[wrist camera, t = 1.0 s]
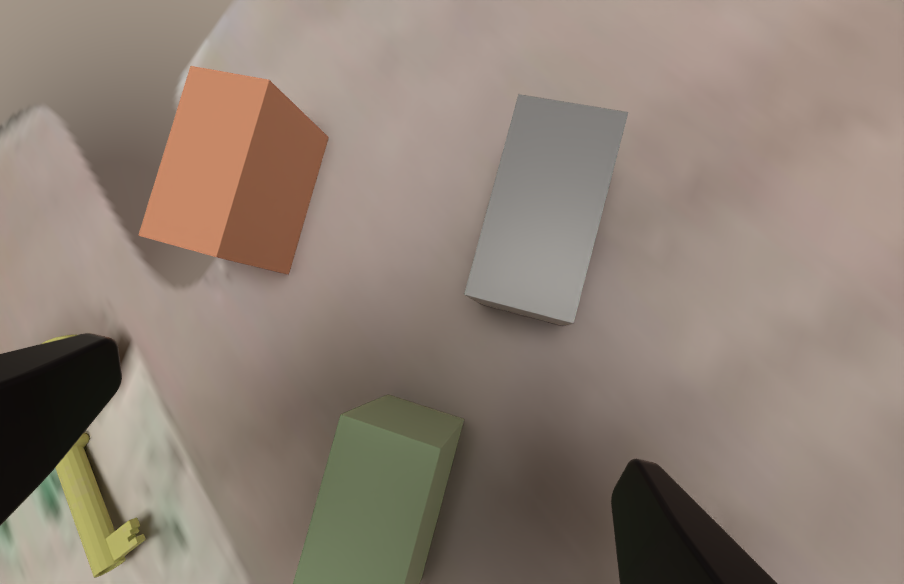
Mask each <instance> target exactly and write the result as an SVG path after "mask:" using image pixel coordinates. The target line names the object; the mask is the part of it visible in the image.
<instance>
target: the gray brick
mask: <svg viewBox="0 0 904 584" xmlns="http://www.w3.org/2000/svg"><path fill="white" fill-rule="evenodd" d="M627 115H628V112H624V111H618V110H612V109H606V108H600V107H594V106H588V105H581V104H575V103H569V102H563V101H557V100H551V99H545V98H538V97H532V96H526V95H520V94H518V98H517V102H516V105H515V109H514V113H513V116H512V120H511V124H510V127H509V131H508V135H507V138H506V142H505V146H504V149H503V153H502V157H501V160H500V164H499V168H498V172H497V175H496V179H495V183H494V186H493V190H492V194H491V197H490V201H489V205H488V208H487V212H486V216H485V219H484V223H483V227H482V230H481V234H480V238H479V242H478V245H477V249H476V253H475V256H474V260H473V264H472V267H471V271H470V275H469V278H468V282H467V286H466V289H465V293H464V295H466V296H468V297H469V298H471V299H473V300H474V301H476V302H478V303H480V304H482V305H486V306H489V307H493V308H497V309H501V310H504V311H508V312H512V313H516V314H520V315H523V316H527V317H531V318H535V319H538V320H542V321H546V322H550V323H553V324H557V325H561V326H564V325H569V324H573V323H574V320H575V316H576V312H577V308H578V305H579V301H580V297H581V293H582V289H583V285H584V281H585V278H586V274H587V270H588V266H589V262H590V258H591V254H592V251H593V247H594V243H595V239H596V235H597V231H598V227H599V224H600V220H601V216H602V212H603V208H604V204H605V200H606V196H607V193H608V189H609V185H610V181H611V177H612V173H613V169H614V166H615V162H616V158H617V154H618V150H619V146H620V142H621V139H622V135H623V131H624V127H625V123H626V119H627Z"/></svg>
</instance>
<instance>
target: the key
mask: <svg viewBox="0 0 904 584" xmlns="http://www.w3.org/2000/svg"><path fill="white" fill-rule="evenodd" d="M72 336H76V335H67V336H62V337H57V338H54V339H51V340H48V341H46V342H44V343H48V342H52V341H56V340H60V339H64V338H68V337H72ZM44 343H42V344H44ZM88 441H89V436H88V435H87V434H86V433H83V434H82V436H81V437H80V438H79V439H78V441H77V442H76V443H75V444H74V445H73V447H72V448H71V449H70V450H69V452H68V453H67V454H66V455H65V457H64V458H63V459H62V460H61V461H60V463H59V464H58V465H57V466H56V467H55V468H56V471H57V474H58V476H59V479H60V482H61V485H62V488H63V491H64V493H65V496H66V499H67V502H68V505H69V508H70V510H71V513H72V516H73V519H74V522H75V525H76V528H77V530H78V533H79V536H80V539H81V542H82V545H83V547H84V550H85V553H86V556H87V559H88V562H89V564H90V567H91V570H92V573H93V576H94V578H95V577H98V576H101V575H103V574H105V573H107V572H109V571H111V570H112V569H114V568H116V567H117V566H119V565H120V564H122V563H123V562H124V561H125V560H126V559H125V555H126V554H128V553H129V552H130V551H131V550H133V549H134V548H135V547H137V546H138V545H139V544H141V543H142V542H143V541H144V540H146V539H145V536H144V534H142V535H140V536H137V537H136V534H137V533H138V532H139V529H138V527H139V526H140V524H139V521H138V519H137V518H134V519H131V520H129V521H127V522H126V523H125V524H123V525H122V526H121V527H120V528H118V529H117V530H116V531H115V530H114V527H113V524H112V522H111V519H110V516H109V514H108V511H107V509H106V506H105V503H104V501H103V498H102V495H101V493H100V490H99V487H98V485H97V482H96V479H95V477H94V474H93V471H92V469H91V466H90V464H89V461H88V458H87V456H86V453H85V450H84V447H85V446H86V444H87V443H88Z"/></svg>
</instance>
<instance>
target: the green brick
mask: <svg viewBox="0 0 904 584" xmlns="http://www.w3.org/2000/svg"><path fill="white" fill-rule="evenodd" d="M463 422H464V419H462V418H459V417H456V416H453V415H450V414H447V413H444V412H441V411H437V410H434V409H431V408H428V407H425V406H422V405H419V404H416V403H413V402H410V401H406V400H403V399H400V398H397V397H394V396H391V395H386V396H383V397H381V398H378V399H376V400H374V401H371V402H369V403H367V404H364V405H362V406H359V407H357V408H355V409H352V410H350V411H348V412H345V413H343V414H341V415H340V419H339V422H338V426H337V429H336V433H335V436H334V440H333V443H332V447H331V451H330V454H329V458H328V461H327V465H326V468H325V472H324V475H323V479H322V483H321V486H320V490H319V493H318V497H317V500H316V504H315V507H314V511H313V515H312V518H311V522H310V525H309V529H308V532H307V536H306V539H305V543H304V547H303V550H302V554H301V557H300V561H299V564H298V568H297V571H296V575H295V579H294V582H293V584H420V581H421V579H422V575H423V571H424V568H425V564H426V560H427V556H428V553H429V549H430V545H431V541H432V538H433V534H434V530H435V526H436V523H437V519H438V515H439V512H440V508H441V504H442V500H443V497H444V493H445V489H446V485H447V482H448V478H449V474H450V471H451V467H452V463H453V459H454V456H455V452H456V448H457V444H458V441H459V437H460V433H461V430H462V426H463Z"/></svg>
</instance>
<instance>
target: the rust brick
mask: <svg viewBox="0 0 904 584" xmlns="http://www.w3.org/2000/svg"><path fill="white" fill-rule="evenodd" d="M328 138H329V137H328V136H327V135H326V134H325V133H324V132H323V131H322V130H321V129H320V128H318V127H317V126H316V125H315V124H314V123H313V122H312V121H311V120H310V119H309V118H308V117H307V116H306V115H305V114H304V113H303V112H302V111H301V110H300V109H299V108H298V107H297V106H296V105H295V104H294V103H293V102H292V101H291V100H290V99H289V98H287V97H286V96H285V95H284V94H283V93H282V92H281V91H280V90H279V89H278V88H277V87H276V86H275V85H274V84H273V83H272V82H271V81H270V80H267V79H262V78H256V77H250V76H245V75H239V74H233V73H228V72H222V71H216V70H211V69H205V68H199V67H194V66H190V70H189V73H188V76H187V79H186V83H185V86H184V89H183V92H182V96H181V99H180V102H179V105H178V109H177V112H176V115H175V118H174V122H173V125H172V128H171V132H170V135H169V138H168V141H167V144H166V148H165V151H164V154H163V157H162V161H161V164H160V167H159V171H158V174H157V177H156V180H155V184H154V187H153V190H152V193H151V196H150V200H149V203H148V206H147V209H146V213H145V216H144V219H143V223H142V226H141V229H140V232H139V236H142V237H146V238H150V239H153V240H157V241H160V242H164V243H168V244H171V245H175V246H178V247H182V248H186V249H189V250H193V251H197V252H200V253H204V254H207V255H211V256H214V257H218V258H222V259H226V260H230V261H235V262H239V263H243V264H247V265H251V266H255V267H259V268H264V269H268V270H272V271H276V272H280V273H284V274H288V275H289V272H290V268H291V265H292V261H293V258H294V255H295V251H296V248H297V244H298V241H299V237H300V234H301V231H302V227H303V224H304V220H305V217H306V213H307V210H308V206H309V203H310V200H311V196H312V193H313V189H314V186H315V182H316V179H317V176H318V172H319V169H320V165H321V162H322V158H323V155H324V152H325V148H326V145H327V141H328Z"/></svg>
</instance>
